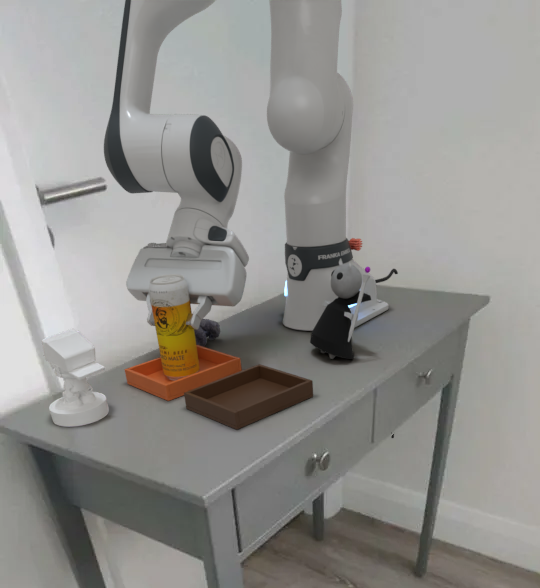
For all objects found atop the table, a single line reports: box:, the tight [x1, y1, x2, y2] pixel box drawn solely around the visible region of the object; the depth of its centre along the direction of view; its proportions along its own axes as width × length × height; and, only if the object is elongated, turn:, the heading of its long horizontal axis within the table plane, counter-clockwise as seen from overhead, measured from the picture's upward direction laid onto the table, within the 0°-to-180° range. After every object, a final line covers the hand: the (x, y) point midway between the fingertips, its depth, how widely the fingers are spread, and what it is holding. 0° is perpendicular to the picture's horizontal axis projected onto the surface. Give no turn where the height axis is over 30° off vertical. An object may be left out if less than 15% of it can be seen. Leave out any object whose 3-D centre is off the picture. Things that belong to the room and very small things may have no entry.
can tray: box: [124, 345, 243, 402], centre depth 108 cm, size 15×12×2 cm
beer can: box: [149, 274, 200, 381], centre depth 103 cm, size 6×6×15 cm
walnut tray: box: [183, 363, 314, 430], centre depth 97 cm, size 15×12×2 cm
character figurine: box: [41, 328, 110, 428], centre depth 95 cm, size 9×10×12 cm
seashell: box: [194, 318, 221, 347], centre depth 120 cm, size 5×5×10 cm
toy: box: [309, 258, 371, 360], centre depth 108 cm, size 12×7×15 cm, turn 22°
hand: (172, 325), depth 102 cm, fingers closed on beer can, 6 cm apart
